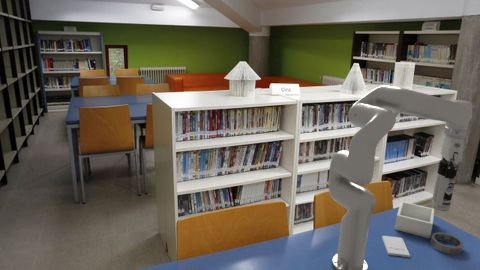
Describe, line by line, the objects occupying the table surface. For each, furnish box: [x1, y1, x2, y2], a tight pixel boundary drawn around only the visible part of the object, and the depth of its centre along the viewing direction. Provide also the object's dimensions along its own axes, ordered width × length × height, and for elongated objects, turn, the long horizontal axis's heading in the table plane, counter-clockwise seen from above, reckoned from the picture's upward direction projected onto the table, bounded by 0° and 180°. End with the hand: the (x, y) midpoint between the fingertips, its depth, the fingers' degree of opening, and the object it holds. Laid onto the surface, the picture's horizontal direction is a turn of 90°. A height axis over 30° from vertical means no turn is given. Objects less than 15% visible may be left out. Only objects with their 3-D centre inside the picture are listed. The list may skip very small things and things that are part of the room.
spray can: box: [431, 160, 459, 212], centre depth 144 cm, size 7×7×20 cm
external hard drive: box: [381, 235, 411, 258], centre depth 144 cm, size 2×8×12 cm
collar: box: [430, 232, 464, 256], centre depth 145 cm, size 11×11×3 cm
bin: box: [394, 200, 435, 240], centre depth 160 cm, size 16×14×7 cm
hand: (446, 174), depth 143 cm, fingers closed on spray can, 6 cm apart
